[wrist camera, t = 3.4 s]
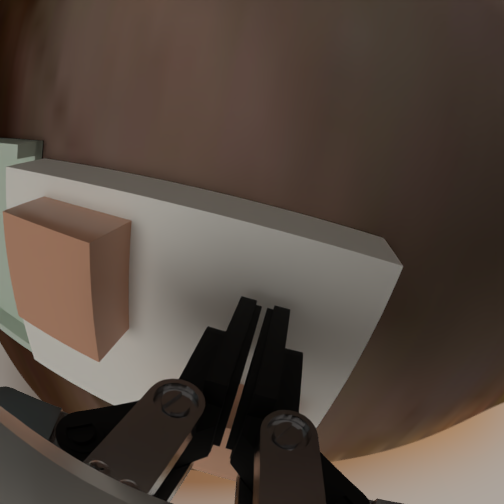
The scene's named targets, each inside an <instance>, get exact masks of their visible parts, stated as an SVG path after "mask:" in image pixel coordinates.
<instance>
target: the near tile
mask: <svg viewBox="0 0 504 504" xmlns="http://www.w3.org/2000/svg"><path fill="white" fill-rule="evenodd" d="M131 222H132V221H131V220H128V219H124V218H120V217H117V216H113V215H110V214H106V213H102V212H99V211H95V210H91V209H88V208H84V207H81V206H77V205H73V204H70V203H66V202H63V201H59V200H55V199H52V198H48V197H45V196H44V197H41V198H38V199H35V200H32V201H29V202H26V203H23V204H20V205H18V206H15V207H12V208H10V209H7V210H4V211H3V223H4V234H5V244H6V252H7V259H8V266H9V272H10V277H11V283H12V288H13V293H14V298H15V302H16V307H17V311H18V315H19V316H20V317H21V318H23V319H24V320H26V321H27V322H29V323H30V324H32V325H33V326H35V327H37V328H38V329H40V330H42V331H43V332H45V333H46V334H48V335H50V336H51V337H53V338H55V339H57V340H58V341H60V342H62V343H64V344H65V345H67V346H69V347H71V348H73V349H74V350H76V351H78V352H80V353H82V354H84V355H86V356H88V357H89V358H91V359H93V360H95V361H97V362H100V361H101V360H102V359H103V358H104V356H105V355H106V354H107V353H108V352H109V351H110V349H111V348H112V347H113V346H114V345H115V344H116V343H117V342H118V340H119V339H120V338H121V337H122V336H123V335H124V334H125V332H126V331H127V330H128V329H129V257H130V237H131Z"/></svg>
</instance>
